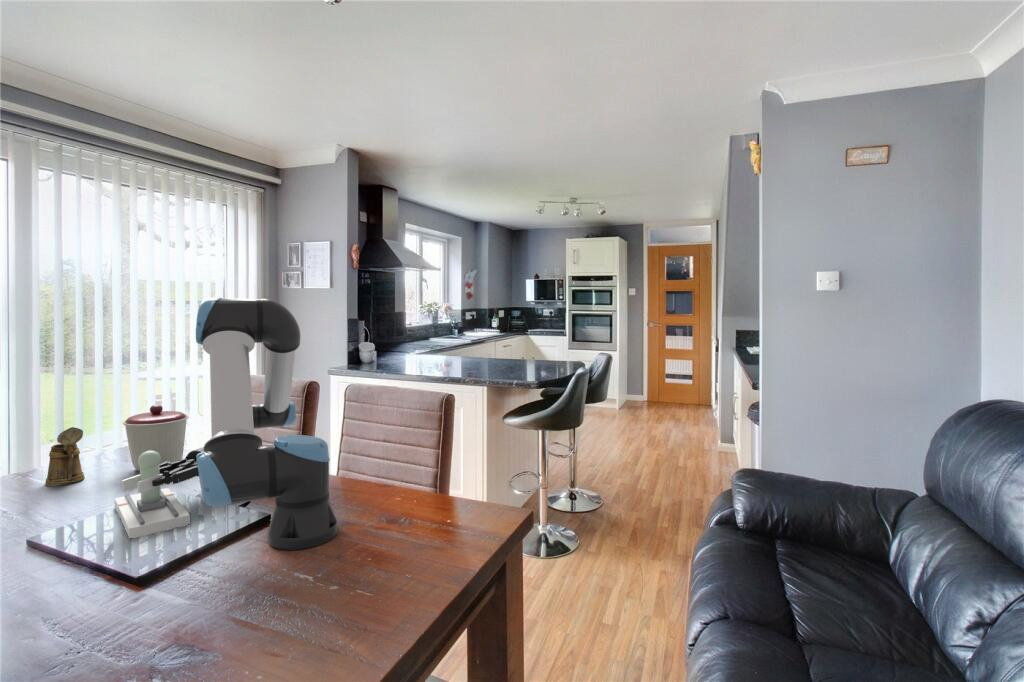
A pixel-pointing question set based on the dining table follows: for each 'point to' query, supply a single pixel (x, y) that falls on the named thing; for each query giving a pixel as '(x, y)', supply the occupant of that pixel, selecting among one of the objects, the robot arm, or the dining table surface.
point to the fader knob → (149, 469)
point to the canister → (156, 434)
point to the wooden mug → (65, 459)
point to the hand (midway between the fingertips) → (130, 486)
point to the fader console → (150, 514)
